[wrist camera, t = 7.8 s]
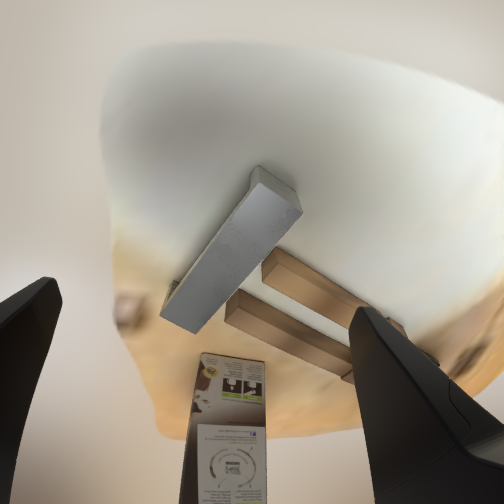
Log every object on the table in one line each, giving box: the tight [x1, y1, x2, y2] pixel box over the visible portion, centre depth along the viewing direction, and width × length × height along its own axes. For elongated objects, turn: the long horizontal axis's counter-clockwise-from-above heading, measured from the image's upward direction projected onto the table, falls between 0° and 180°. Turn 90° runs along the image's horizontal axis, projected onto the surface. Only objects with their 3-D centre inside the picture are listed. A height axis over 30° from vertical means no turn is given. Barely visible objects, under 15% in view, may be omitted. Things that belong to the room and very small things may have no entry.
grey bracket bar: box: [159, 165, 303, 334], centre depth 21 cm, size 3×12×3 cm, turn 144°
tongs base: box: [224, 289, 408, 385], centre depth 25 cm, size 15×7×2 cm, turn 54°
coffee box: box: [179, 353, 267, 504], centre depth 24 cm, size 9×6×16 cm
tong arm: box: [261, 247, 381, 330], centre depth 23 cm, size 15×2×4 cm, turn 55°
